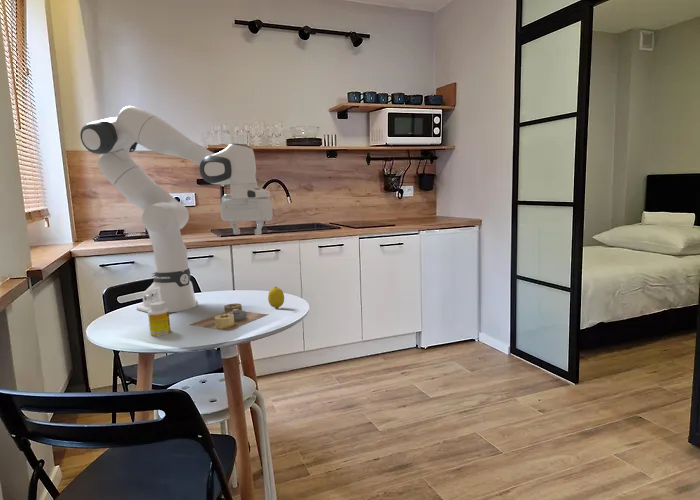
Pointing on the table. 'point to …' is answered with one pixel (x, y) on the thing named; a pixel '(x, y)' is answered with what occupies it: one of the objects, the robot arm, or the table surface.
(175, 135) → the robot arm
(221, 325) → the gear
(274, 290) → the lemon
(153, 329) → the supplement bottle
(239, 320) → the plate
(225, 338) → the table surface
